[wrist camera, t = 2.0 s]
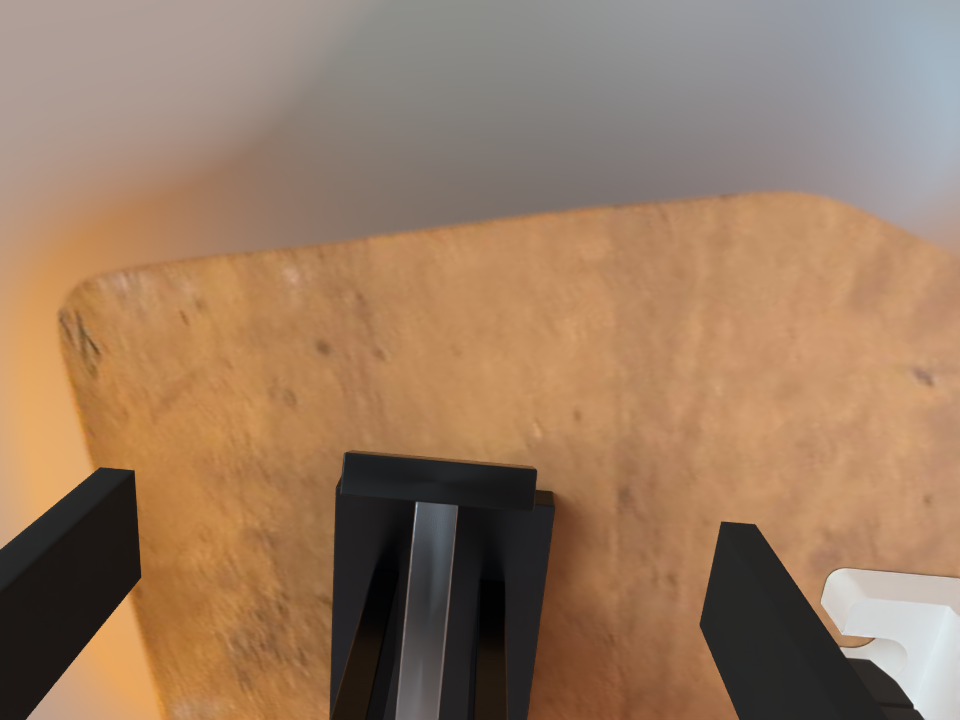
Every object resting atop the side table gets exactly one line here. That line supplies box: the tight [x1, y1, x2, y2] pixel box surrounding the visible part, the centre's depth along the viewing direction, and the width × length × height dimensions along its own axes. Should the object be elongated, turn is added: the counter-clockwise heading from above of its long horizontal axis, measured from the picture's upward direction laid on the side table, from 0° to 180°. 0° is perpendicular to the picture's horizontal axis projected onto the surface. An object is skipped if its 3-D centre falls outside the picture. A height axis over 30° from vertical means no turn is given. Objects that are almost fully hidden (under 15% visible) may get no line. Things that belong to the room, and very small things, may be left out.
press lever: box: [340, 450, 537, 720], centre depth 18 cm, size 12×5×2 cm, turn 175°
